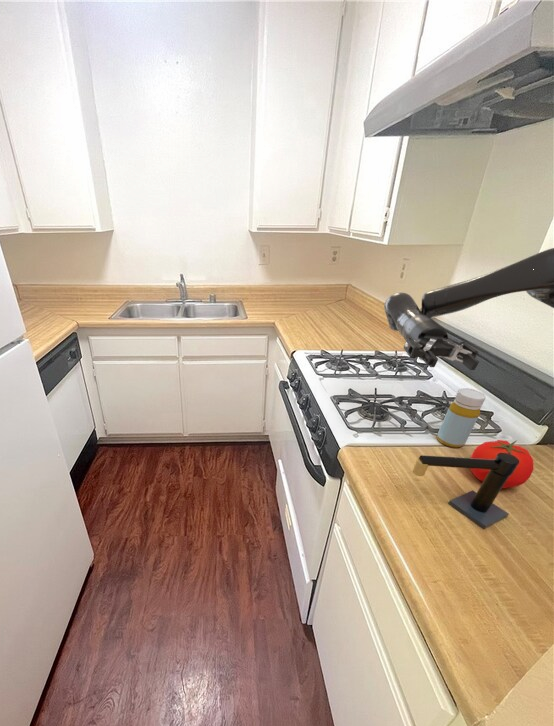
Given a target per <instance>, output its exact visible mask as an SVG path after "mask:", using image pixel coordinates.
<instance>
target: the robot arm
mask: <svg viewBox="0 0 554 726" xmlns="http://www.w3.org/2000/svg"><path fill="white" fill-rule="evenodd" d="M533 269H534V270H533ZM520 292H521V293H522V292H526V294H527V295H529V296H530V297H531V298H533V299H534V300H536V301H538V302H540V303H542V304H544V305H547V306H549V307H550V308H552V309H554V247H551V248H548V249H545V250H543V251H540V252H537V253H536V254H533V255H531V256H528V257H526V258H523V259H521V260H519V261H517V262H514V263H511V264H509V265H507V266H504V267H501V268H499V269H496V270H493V271H491V272H487V273H485V274H482V275H480V276H477V277H473V278H470V279H467V280H464V281H460V282H457V283H453V284H449V285H445V286H443V287H439V288H436V289H432V290H429V291H426V292H424V293H423V295H422V296H421V307H419V306H418V304H417V303H416V301H415V300H414V298H413V297H412V296H411V295H410V294H408V293H406V292H396V293H393V294H391V295H390V296H388V297H387V298H386V300H385V301H384V304H383V310H384V313H385V316H386V319H387V323H388V326H389V328H390V329H391V330H392V331H394V332H398V333H399V334H400V335H401V336H402V338H403V339H404V341H405V342H404V345H403V350H404V351H405V353H406V354H407V355H408V357H409V358H410V359H416V358H418V360H420V361H423V362H424V363H425V364H426V365H427V366H428V367H429V368H435V367H436V365H437V363H438V361H439V358H443V359H446V360H448V361H451V362H454V361H457V362H460V363H461V364H462V365H463V366H465V367H466V368H467V369H468V370H469V371H475V370H476V368H477V367H478V365H479V363H480V361H479V360H478V359H477V358H476V357H477V356H478V355H479V353H480V352H479V350H477V349H476V348H474V347H473V346H471V345H470V344H469V343H467V342H465V341H460V342H459V344H458V343H456V342H454V341H451V339H449V336H448V335H449V334H448V332H447V330H446V329H445V328H444V327H443V326H442V325H440V324H439V323H438V322H437V321H435V320H434V319H433V318H437V317H440V316H445V315H450V314H453V313H456V312H461V311H463V310H467V309H470V308H471V307H474V306H477V305H479V304H481V303H483V302H486V301H489V300H492V299H494V298H498V297H501V296H505V295H508V294H515V293H520ZM453 351H454V352H453ZM452 352H453V354H452V355H451V353H452Z"/></svg>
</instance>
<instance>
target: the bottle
mask: <svg viewBox="0 0 554 726" xmlns="http://www.w3.org/2000/svg"><path fill="white" fill-rule="evenodd" d="M486 398H487V396H486V394H485V393H484V392H481V391H479V390H477V389H473V388H465V387H463V388H459V389H458V391H457V393H456V395H455V398H454V400H453V402H451V403H450V405H449V407H448V408H447V411H446V413H445V415H444V419H443V420H442V423H441V425H440V426H439V430H438V432H437V435H436V438H437V440H438V442H439V443H441V444H442V445H444V446H446V447H449V448H454V449H456V448H457V449H458V448H462V447H464V446H465V444H466V443H467V441H468V439H469V437H470V435H471V433H472V431H473V429H474V427H475V425H476V423H477V421H478V420H479V418H480V415H481V408H482V407H483V404H484V402H485V401H486Z"/></svg>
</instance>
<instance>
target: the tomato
mask: <svg viewBox="0 0 554 726" xmlns="http://www.w3.org/2000/svg"><path fill="white" fill-rule="evenodd" d="M517 441H518V440H514V441H513V442H511V443H510V442H509V441H508V440H502V439H497V440H491V441H484V442H482V443H481V444H479V445H478V446H476V448H475V449H474V450H473V451H472V454H471V456H470V458H476V459H492V460H494V459H495V458H496V456H497V454H498V453H508V454H511V455H513V456H515V457H516V458H518V460H519V464H518V466H517V467H516V469H515V470H514V472H513V473H512V475H510V476H509V477H508V479H507V481H506V482H505V484H504V485H503V487H502V489H507V488H515V487H519V486H522V485H524V484H525V483H526V482H527V481H528V480H529V479H530V478H531V476H532V474H533V472H534V458H533V457H532V455H531V453H530V452H529V451H528V449H527V448H524V447H522V446H520V445H515V444H516V442H517ZM470 471H471V472H472V475H474V476H475V477H476V478H477V479H478V480H479V481H481V482H483V481H484V479H485V478H486V476H487V474H488V472H489V471H490V470H489V469H473V468H470Z"/></svg>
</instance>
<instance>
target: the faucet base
mask: <svg viewBox="0 0 554 726" xmlns="http://www.w3.org/2000/svg"><path fill="white" fill-rule="evenodd" d="M508 477H509V476H505V475H501V474H498V473H496V472H495V471H493V470H490V471H489V472H488V474H487V476H486V478H485V479H484V481H482V482H481V484H480V486H479V488H478V490H477V491H475V490H470V491H468V492H465V493H463V494H461V495H458V496H456V497H455V498H452V499H450V500H449V502H448V505H449V506H450V507H452V508H453V509H454V510H456V511H458V513H460V514H461V515H463V516H464V517H466V518H467V519H469V520H470V521H471V522H472V523H474V524H475V525H477V526H478V527H480V528H481V529H482V530H485V529H487V528H490V527H491V526H493V525H495V524H497V523H500V521H503V520H504V519H507V518H508V517H509V515H510V513H509V512H507V511H505V510H504V509H502V508H501V507H499V506H498V505H497V504H495V503H494V502H495V500H496V499H497V497H498V495H499V494H500V492H501V490H502V489H503V488H502V487H503V485H504V484H505V482H506V481H507V479H508Z"/></svg>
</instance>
